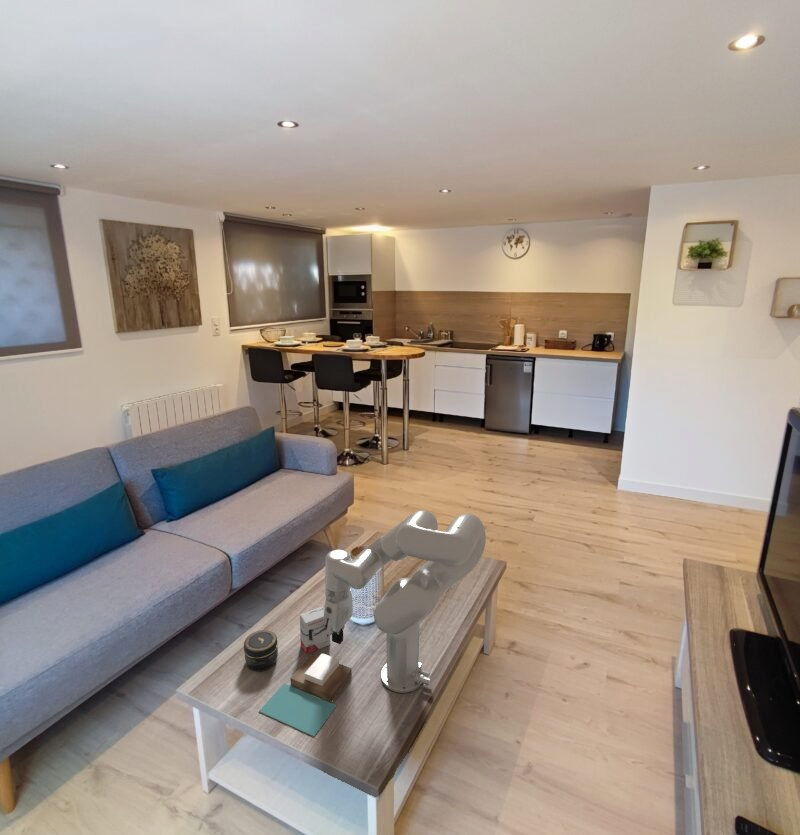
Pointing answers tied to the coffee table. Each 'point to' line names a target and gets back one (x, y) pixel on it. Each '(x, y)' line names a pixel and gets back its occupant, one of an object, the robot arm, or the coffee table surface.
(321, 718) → the mat
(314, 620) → the ink box
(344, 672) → the brown flat block
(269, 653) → the jar
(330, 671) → the white rubber eraser
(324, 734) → the coffee table surface
